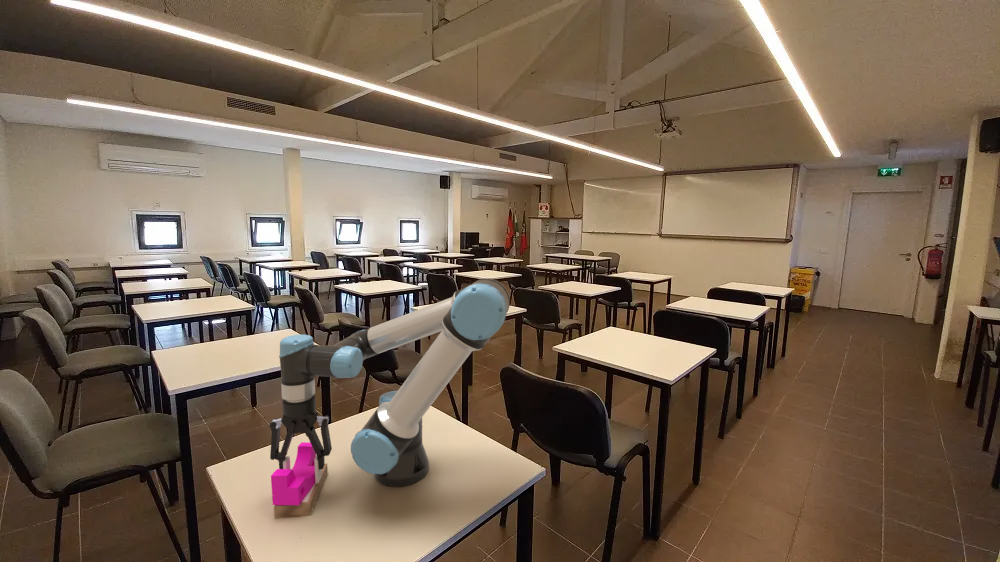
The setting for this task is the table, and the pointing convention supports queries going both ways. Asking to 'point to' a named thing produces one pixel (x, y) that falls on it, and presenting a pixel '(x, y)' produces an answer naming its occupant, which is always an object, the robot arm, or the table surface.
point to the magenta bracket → (295, 478)
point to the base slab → (306, 504)
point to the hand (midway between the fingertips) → (303, 481)
